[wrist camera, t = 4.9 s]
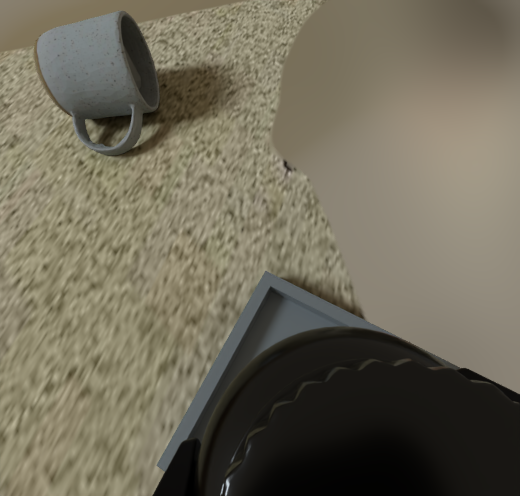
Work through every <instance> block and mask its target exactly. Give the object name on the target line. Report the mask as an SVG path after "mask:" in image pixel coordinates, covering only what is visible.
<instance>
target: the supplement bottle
mask: <svg viewBox="0 0 520 496" xmlns="http://www.w3.org/2000/svg"><path fill="white" fill-rule="evenodd" d="M192 496H520V403H518V402H514V401H512V400H511V399H509V398H508V397H507V396H506V395H505V394H504V392H502V391H501V390H500V389H499V388H497V387H496V386H495V385H494V384H491V383H489V382H483V381H477V380H469V379H467V378H466V377H465V376H464V375H463V374H461V373H459V372H458V371H456V370H455V369H453V368H451V367H448V366H447V365H445V364H444V363H443V362H441V361H440V360H439V359H437V358H436V357H434V356H433V355H431V354H430V353H428V352H426V351H425V350H423V349H421V348H419V347H417V346H416V345H414V344H411V343H410V342H407V341H405V340H403V339H400V338H398V337H396V336H393V335H390V334H387V333H384V332H380V331H376V330H371V329H367V328H360V327H349V326H334V327H323V328H317V329H311V330H308V331H304V332H300V333H297V334H295V335H292V336H290V337H287V338H285V339H283V340H281V341H279V342H277V343H275V344H274V345H272V346H270V347H269V348H267V349H266V350H264V351H263V352H261V353H260V354H259V355H258V356H256V357H255V358H254V359H253V360H252V361H250V362H249V363H248V364H247V365H246V366H245V367H244V368H243V369H242V370H241V371H240V373H239V374H238V375H237V376H236V377H235V378H234V380H233V381H232V382H231V384H230V385H229V386H228V388H227V389H226V391H225V392H224V393H223V395H222V397H221V399H220V400H219V402H218V404H217V406H216V407H215V409H214V412H213V414H212V416H211V418H210V420H209V422H208V425H207V428H206V430H205V433H204V436H203V439H202V443H201V446H200V450H199V453H198V458H197V463H196V469H195V474H194V483H193V493H192Z"/></svg>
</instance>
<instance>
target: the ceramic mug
mask: <svg viewBox="0 0 520 496" xmlns="http://www.w3.org/2000/svg"><path fill="white" fill-rule="evenodd" d="M34 62H35V66H36V70H37V73H38V76H39V79H40V81H41V83H42V85H43V87H44V89H45V90H46V92H47V94H48V95H49V97H50V98H51V99H52V101H53V102H54V103H55V104H56V105H57V106H58V107H59V108H60V109H61V110H62V111H64V112H65V113H67V114H68V115H70V116H72V120H73V126H74V129H75V132H76V134H77V136H78V138H79V139H80V140H81V142H83V143H84V144H85V145H86V146H87V147H88V148H90V149H92V150H94V151H96V152H98V153H101V154H104V155H119V154H123V153H125V152H127V151H129V150H130V149H132V147H133V146H134V145H135V144H136V143H137V141H138V139H139V137H140V134H141V129H142V121H143V113H149V112H154V111H155V110H156V109H157V108H158V105H159V84H158V79H157V73H156V69H155V65H154V62H153V59H152V57H151V53H150V50H149V48H148V45H147V43H146V41H145V39H144V37H143V35H142V33H141V31H140V29H139V27H138V25H137V24H136V22H135V21H134V19H133V18H132V17H131V16H130V15H129V14H128V13H126V12H125V11H117V12H113V13H110V14H107V15H103V16H100V17H96V18H91V19H87V20H84V21H80V22H77V23H73V24H69V25H65V26H60V27H56V28H54V29H51V30H49V31H47V32H45V33H44V34H42V35H40V36H39V38H38V39H37V40H36V42H35V45H34ZM124 115H132V117H131V124H130V128H129V131H128V133H127V134H126V136H125V137H124V138H123V139H122V141H121V142H120V143H119V144H117V145H116V146H115V147H108V146H105V145H103V144H95V143H93V142H92V141H91V140H90V138H89V135H88V134H87V130H86V125H85V119H98V118H105V117H112V116H124Z"/></svg>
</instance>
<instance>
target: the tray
mask: <svg viewBox="0 0 520 496" xmlns="http://www.w3.org/2000/svg"><path fill="white" fill-rule="evenodd" d="M334 326H349V327H360V328H367V329H371V330H376V331H380V332H384V333H387V334H390V335H393V334H391V333H389V332H387V331H385V330H383V329H381V328H379V327H377V326H375V325H373V324H371V323H369V322H367V321H365V320H363V319H361V318H359V317H357V316H355V315H353V314H351V313H349V312H347V311H345V310H343V309H341V308H339V307H337V306H335V305H333V304H331V303H329V302H327V301H325V300H323V299H321V298H319V297H317V296H315V295H313V294H311V293H309V292H307V291H305V290H303V289H301V288H299V287H297V286H295V285H293V284H291V283H289V282H287V281H285V280H283V279H281V278H279V277H277V276H275V275H273V274H271V273H269V272H267V271H265V273H264V275H263V276H262V278H261V280H260V282H259V283H258V285H257V287H256V289H255V291H254V292H253V294H252V296H251V298H250V299H249V301H248V303H247V305H246V307H245V308H244V310H243V312H242V314H241V316H240V317H239V319H238V321H237V323H236V324H235V326H234V328H233V330H232V332H231V333H230V335H229V337H228V339H227V341H226V342H225V344H224V346H223V348H222V349H221V351H220V353H219V355H218V357H217V358H216V360H215V362H214V364H213V366H212V367H211V369H210V371H209V373H208V374H207V376H206V378H205V380H204V382H203V383H202V385H201V387H200V389H199V391H198V392H197V394H196V396H195V398H194V399H193V401H192V403H191V405H190V407H189V408H188V410H187V412H186V414H185V416H184V417H183V419H182V421H181V423H180V424H179V426H178V428H177V430H176V432H175V433H174V435H173V437H172V439H171V441H170V442H169V444H168V446H167V448H166V449H165V451H164V453H163V455H162V457H161V458H160V460H159V462H158V464H157V466H158V467H159V468H161V469H162V470H163V471H166V469H167V468H168V466H169V464H170V462H171V460H172V458H173V456H174V455H175V453H176V451H177V449H178V447H179V445H180V444H181V442H182V441H184V440H187V439H191V438H198V439H199V441H200V443H202V439H203V436H204V433H205V430H206V428H207V425H208V422H209V420H210V418H211V416H212V414H213V412H214V409H215V407H216V406H217V404H218V402H219V400H220V399H221V397H222V395H223V393H224V392H225V391H226V389H227V388H228V386H229V385H230V384H231V382H232V381H233V380H234V378H235V377H236V376H237V375H238V374H239V373H240V371H241V370H242V369H243V368H244V367H245V366H246V365H247V364H248V363H249V362H250V361H252V360H253V359H254V358H255V357H256V356H258V355H259V354H260V353H261V352H263V351H264V350H266V349H267V348H269V347H270V346H272V345H274V344H275V343H277V342H279V341H281V340H283V339H285V338H287V337H290V336H292V335H295V334H297V333H300V332H304V331H308V330H311V329H317V328H323V327H334ZM393 336H395V335H393ZM396 337H397V336H396ZM398 338H399V337H398ZM400 339H401V338H400ZM426 352H427V351H426ZM428 353H429V352H428ZM430 354H431V353H430ZM431 355H433V354H431ZM433 356H434V357H436V358H437V359H439V360H440V361H441V362H443V363H444V364H445V365H447V366H448V367H451V368H453V369H455V370H456V369H460V368H459V367H457V366H455V365H453V364H451V363H449V362H447V361H445V360H443V359H441V358H439V357H437V356H435V355H433Z"/></svg>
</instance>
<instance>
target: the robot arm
mask: <svg viewBox="0 0 520 496" xmlns="http://www.w3.org/2000/svg"><path fill="white" fill-rule="evenodd" d="M456 371H458V372H459V373H461V374H463V375H464V376H465V377H466V378H467V379H469V380H477V381H483V382H489V383H491V384H494V385H495V386H496V387H497V388H499V389H500V390H501V391H502V392H504V394H505V395H506V396H507V397H508V398H509V399H511V400H512V401H514V402H518V403H520V394H518V393H516V392H514V391H512V390H510V389H508V388H506V387H504V386H502V385H500V384H497V383H496V382H494V381H491V380H489V379H487V378H485V377H483V376H481V375H479V374H477V373H475V372H473V371H471V370H469V369H466V368H460V369H456ZM200 446H201V443H200V441H199V439H198V438H191V439H187V440H184V441H182V442H181V444H180V445H179V447H178V449H177V451H176V453H175V455H174V456H173V458H172V460H171V462H170V464H169V466H168V468H167V469H166V471H165V473H164V475H163V477H162V479H161V481H160V482H159V484H158V486H157V488H156V490H155V492H154V494H153V495H152V496H192V493H193V483H194V474H195V469H196V463H197V458H198V453H199V450H200Z"/></svg>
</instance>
